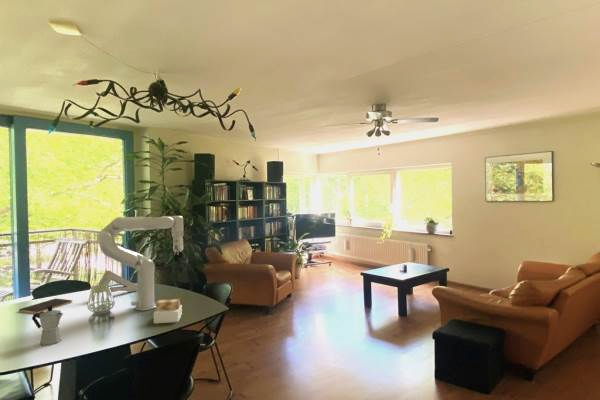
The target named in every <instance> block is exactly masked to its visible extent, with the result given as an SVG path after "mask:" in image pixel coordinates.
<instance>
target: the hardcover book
mask: <svg viewBox="0 0 600 400" xmlns="http://www.w3.org/2000/svg"><path fill="white" fill-rule="evenodd" d="M70 304H73V300H71V299H64V298H53V299H49V300H46V301H42V302H38V303H36V304H31V305H29V306H26V307H22V308H19V310H18V311H19V312H20V313H26V314H27V313H28V314H33V315H34V314H36V313H40V312H41V311H44V312H46V311H48V308H47V306H50V305H53V308H52V310H56V309H57V308H60V307H63V306H66V305H67V306H68V305H70Z"/></svg>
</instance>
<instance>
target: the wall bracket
mask: <svg viewBox="0 0 600 400" xmlns="http://www.w3.org/2000/svg"><path fill="white" fill-rule="evenodd" d="M111 281H113V282H115V283H117V284H119V285H121V286H111V287H110V290H111V292H112V293H115V292H119V291H120V292H121V291H122V292H128V293H132V294H133V293H134V292H138V284H136V283H134V282H133V281H132V282H131V281H130V280H129V279H126V278H124V277H122V276H120V275H118V274H116V273H115V272H112V271H111V270H106V271H104V274H103V275H102V277H101V279H100V281H99V282H98V284H97V285H96V287H97V286H98V285H107V287H108V286H109V285H110V283H111Z"/></svg>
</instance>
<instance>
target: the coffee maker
mask: <svg viewBox="0 0 600 400" xmlns="http://www.w3.org/2000/svg"><path fill="white" fill-rule="evenodd" d="M47 308H48V311H45V312H44V311H41V312H40V313H36V314H34V313H33V315H32V317H31V320H32V321H33V323H34V324H35V326H36V327H37V328H38V329H42V331H41V337H40V343H39V344H40V346H42V347H44V346H49V347H50V346H53V345H56V344H59V343H60V342H61V341H62V337H61V332H60V328H59V325H60V320H61V318H62V316H63V315H64V313H62V311H61V310H56V309H52V308H53V305H50V306H47ZM38 319H39V321H38Z"/></svg>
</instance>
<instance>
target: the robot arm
mask: <svg viewBox="0 0 600 400" xmlns="http://www.w3.org/2000/svg"><path fill="white" fill-rule="evenodd" d="M170 228H171V237H172V239H173V240H172V249H173V251H172V252H173V261H174V262H179V261H180V259H183V251H184V238H183V237H184V217H183V216H182V215H172V216H171V215H163V216H160V217H159V216H157V217H156V216H155V217H153V216H152V217H151V216H128V217H127V216H126V217H125V216H124V217H122V216H117V217H115V218H114V219H113V220H111V221H110V223H108V224H107V225H106V226H105V227H103V228H102V229H101V230H100V231H99V232H98V234H97V236H96V237H97V241H98V242H99V248H100V251H101V252H102V253H103V254H104V255H105V256H106V257H107V258H110V259H112V260H114V261H116V262H118V263H120V264H123V265H124V266H126V267H131V268H133V269H135V270H137V285H138V291H137V301H131V306H135V310H136V311H143V312H144V311H150V310H153V309H156V302H155V270H156V265H155V262H154V261H153V259H151V258H150V257H147V256H146V255H143V254H141V253H138V252H136V251H134V250H132V249H128V248H127V249H126V248H124V247H122V246H120V245H118V244H117V243H116V237H117V236H118V235H119V234H120V233H121V232H130V231H149V230H162V229H163V230H166V229H170Z"/></svg>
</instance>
